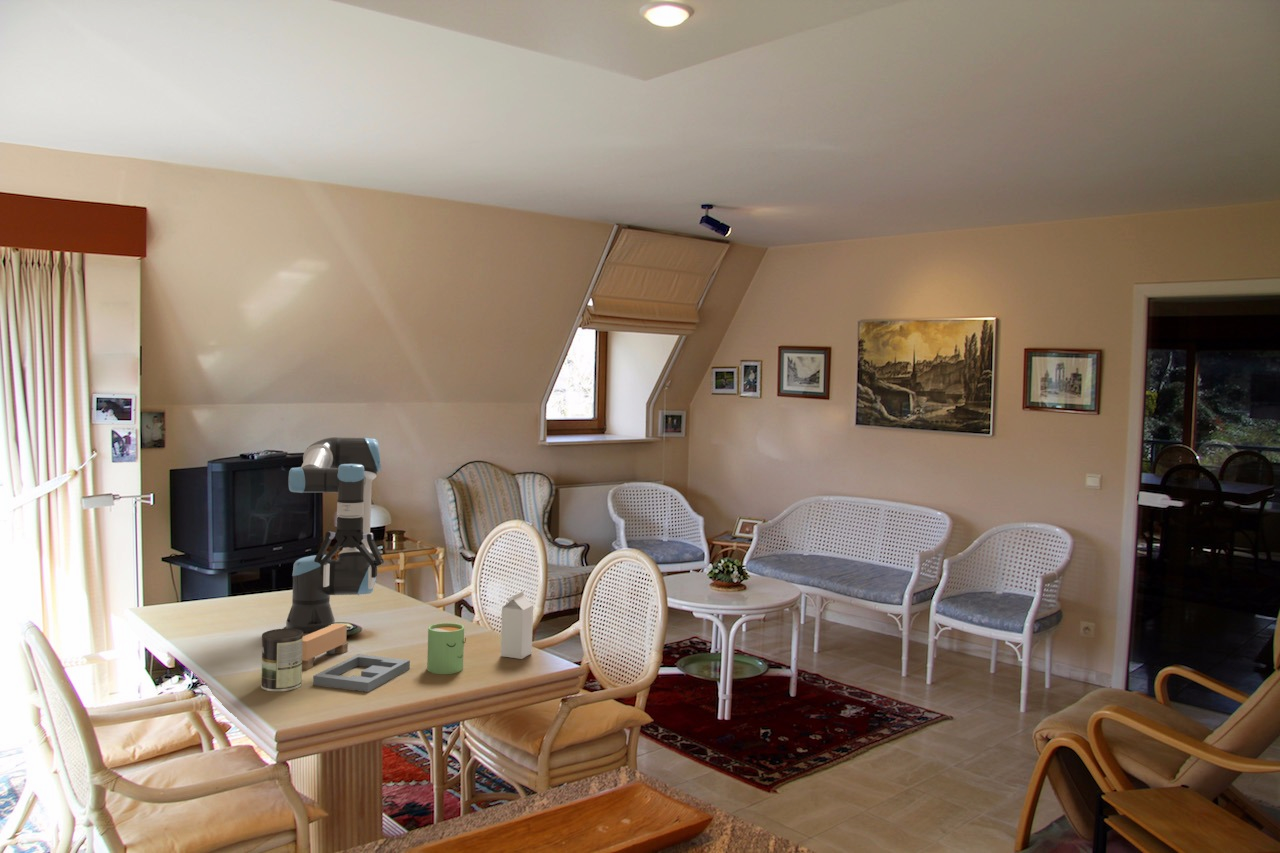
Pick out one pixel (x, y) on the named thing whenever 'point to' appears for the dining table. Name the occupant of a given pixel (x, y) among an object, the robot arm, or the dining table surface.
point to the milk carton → (517, 627)
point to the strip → (323, 641)
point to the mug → (445, 648)
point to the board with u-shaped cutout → (362, 673)
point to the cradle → (339, 649)
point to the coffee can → (281, 660)
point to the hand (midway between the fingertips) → (348, 587)
